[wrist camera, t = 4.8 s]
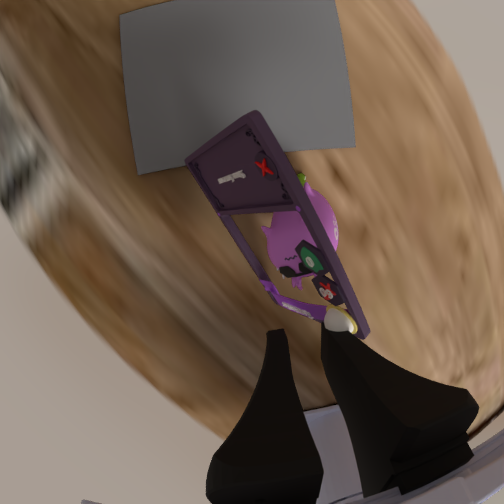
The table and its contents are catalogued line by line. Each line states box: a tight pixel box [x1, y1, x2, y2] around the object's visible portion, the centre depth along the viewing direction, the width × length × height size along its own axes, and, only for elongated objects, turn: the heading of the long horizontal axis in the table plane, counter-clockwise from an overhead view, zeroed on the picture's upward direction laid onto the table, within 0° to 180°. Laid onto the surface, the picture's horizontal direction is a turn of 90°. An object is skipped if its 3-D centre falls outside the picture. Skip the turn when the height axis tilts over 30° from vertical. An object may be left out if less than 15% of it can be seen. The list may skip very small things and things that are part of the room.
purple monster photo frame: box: [184, 110, 370, 340], centre depth 12 cm, size 7×5×9 cm
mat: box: [119, 0, 356, 175], centre depth 12 cm, size 9×11×1 cm
